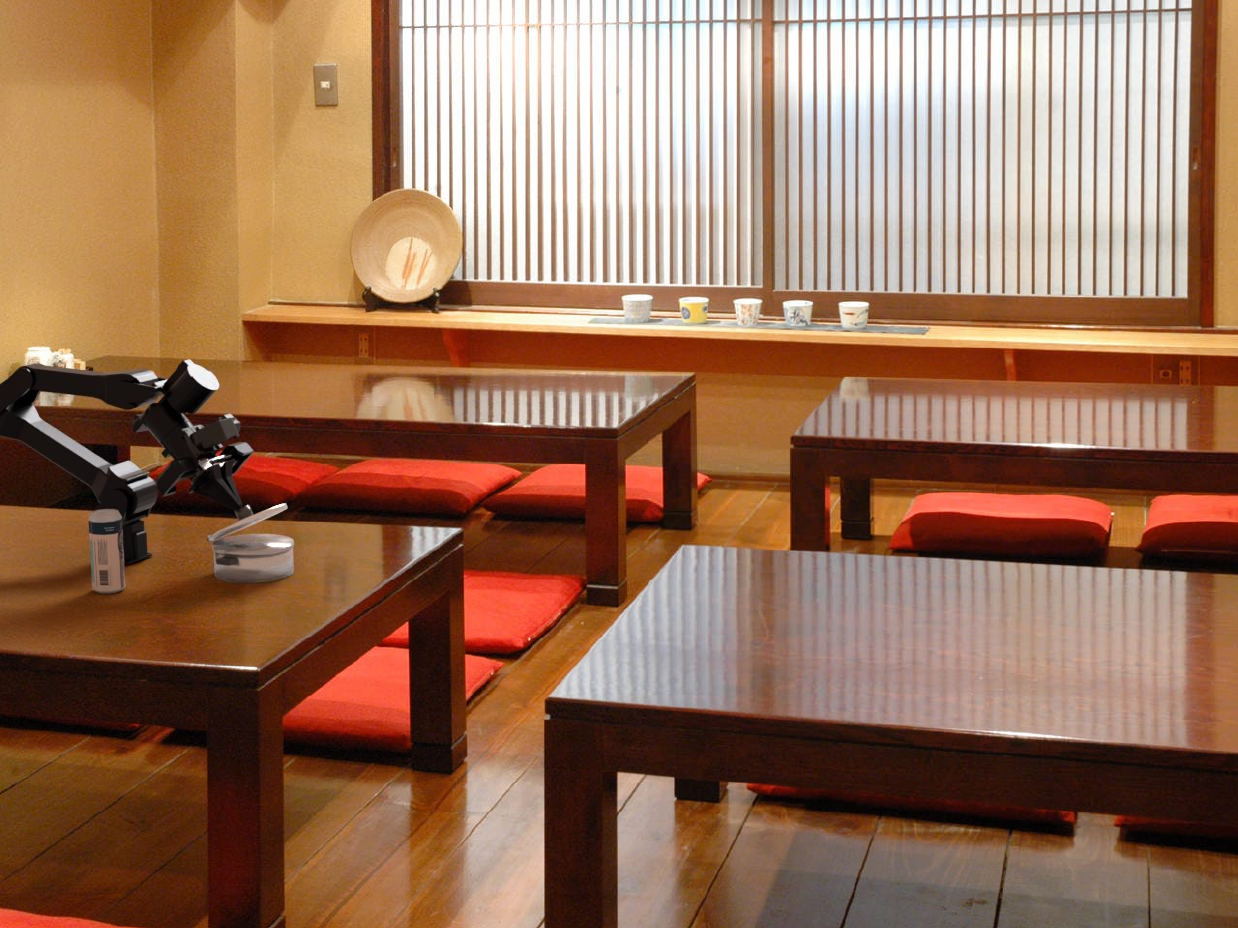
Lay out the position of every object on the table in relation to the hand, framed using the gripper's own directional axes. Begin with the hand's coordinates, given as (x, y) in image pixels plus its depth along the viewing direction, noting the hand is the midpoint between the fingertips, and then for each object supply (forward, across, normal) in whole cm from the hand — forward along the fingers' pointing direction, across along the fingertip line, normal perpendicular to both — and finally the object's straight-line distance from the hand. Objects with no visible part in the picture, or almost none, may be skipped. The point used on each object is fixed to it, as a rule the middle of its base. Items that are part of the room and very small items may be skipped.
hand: (239, 508), depth 246 cm
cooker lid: (+3, 0, +1) cm, 3 cm away
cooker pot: (+9, 0, +6) cm, 10 cm away
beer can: (-1, -17, +16) cm, 23 cm away
